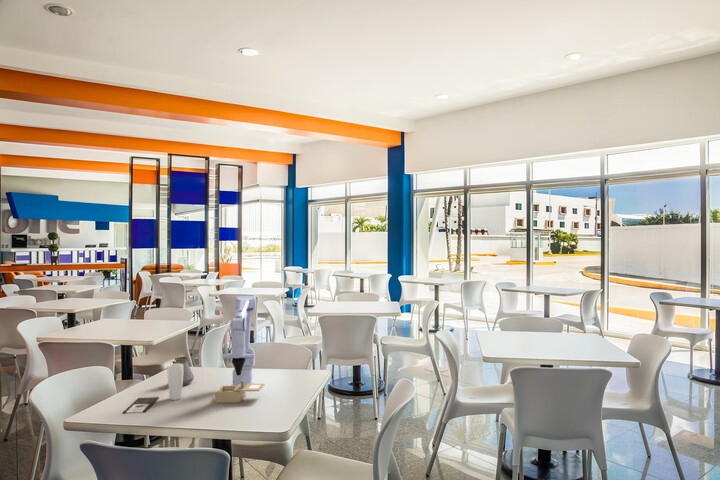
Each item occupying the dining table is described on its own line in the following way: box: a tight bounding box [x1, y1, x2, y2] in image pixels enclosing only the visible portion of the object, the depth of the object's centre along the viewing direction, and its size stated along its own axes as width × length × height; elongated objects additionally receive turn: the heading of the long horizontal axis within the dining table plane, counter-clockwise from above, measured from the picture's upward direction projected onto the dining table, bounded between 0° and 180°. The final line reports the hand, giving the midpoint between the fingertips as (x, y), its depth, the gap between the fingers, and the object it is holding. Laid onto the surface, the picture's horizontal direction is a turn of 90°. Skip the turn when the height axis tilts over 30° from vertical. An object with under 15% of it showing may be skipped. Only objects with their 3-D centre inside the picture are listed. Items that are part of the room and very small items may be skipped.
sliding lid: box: [233, 378, 265, 392], centre depth 209 cm, size 11×9×4 cm
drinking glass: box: [166, 363, 184, 401], centre depth 211 cm, size 7×7×15 cm
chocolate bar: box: [122, 396, 160, 414], centre depth 203 cm, size 9×1×18 cm
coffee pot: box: [169, 356, 195, 387], centre depth 229 cm, size 21×12×15 cm, turn 6°
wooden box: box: [214, 385, 247, 404], centre depth 209 cm, size 11×9×5 cm
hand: (238, 374), depth 212 cm, fingers closed
